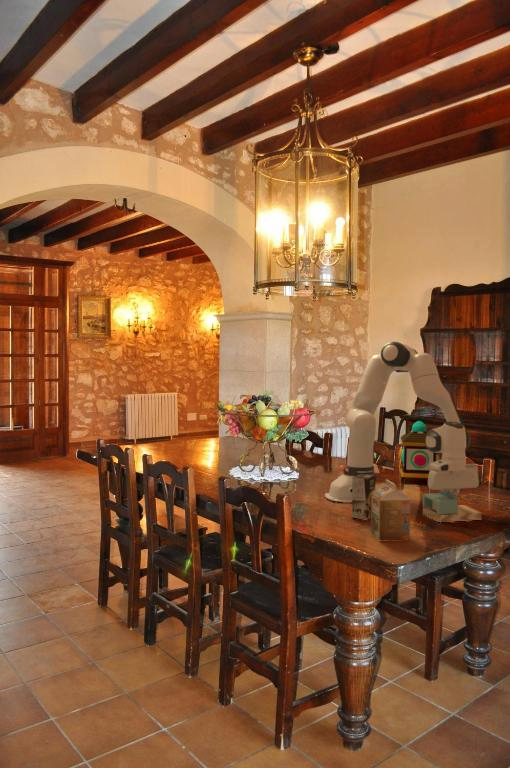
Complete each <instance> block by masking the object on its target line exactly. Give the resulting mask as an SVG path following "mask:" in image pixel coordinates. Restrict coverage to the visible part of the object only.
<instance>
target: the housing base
mask: <svg viewBox="0 0 510 768" xmlns="http://www.w3.org/2000/svg"><path fill="white" fill-rule="evenodd" d="M482 514H483V513H482V512H481V511H479V510H477V509H476V508H475V509H474V508H472V507H470V506H468V505H465V504H460V505H459V504H458V513H452V514H437V513H436V512H434V511H432V507H423V506H422V515H423V516H424V515H425V516H424V517H426V516H427V517H426V518H428V517H429V518H428V519H430V518H431V519H433V520H435V521H437V522H440V523H439V524H442V523H441V522H451V523H456V522H455V521H466V522H473V521H472V520H481V521H482V516H483V515H482ZM431 519H430V520H431ZM433 520H432V521H433ZM435 521H434V522H435ZM437 522H436V523H437Z"/></svg>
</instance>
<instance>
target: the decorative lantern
mask: <svg viewBox="0 0 510 768" xmlns="http://www.w3.org/2000/svg"><path fill="white" fill-rule="evenodd" d="M427 432H428V431H427V426H426V424H425V423H424V422H423V421H422V420H418V421H416V422H414V423H413V425H412V427H411V429H410V431H409V432H407V433H404V434H403V435H401V437H400V441H401V443H402V448H400V449H399V450H398V453H397V457H398V459H399V460H401V467H400V469H399V477H400V476H401V477H400V481H401V484H403V485H404V484H405V480H407V479H408V480H409V479H410V480H411V479H412V480H428V475H429V472H430V470H432V469H431V468H430V464H431V463H433V462H435V461H438V460H440V459H441V458H440V455H439V454H437V453H434V452H431V451H429V450H428V449H427V447H426V445H425V436H426V434H427Z"/></svg>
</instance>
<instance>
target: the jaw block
mask: <svg viewBox="0 0 510 768" xmlns="http://www.w3.org/2000/svg"><path fill="white" fill-rule="evenodd" d="M432 511H434V512H436V513H437V502H434V501H432Z"/></svg>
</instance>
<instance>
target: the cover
mask: <svg viewBox="0 0 510 768" xmlns="http://www.w3.org/2000/svg"><path fill="white" fill-rule="evenodd" d="M452 493H453V492H452ZM452 493H450V492H448V491H447V490H446V489H445V490H439V492H435V493H423V494H422V508H423V507H432V501H434V502H437V514H452V513H458V505H459V500H458V495H454V494H452Z"/></svg>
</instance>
